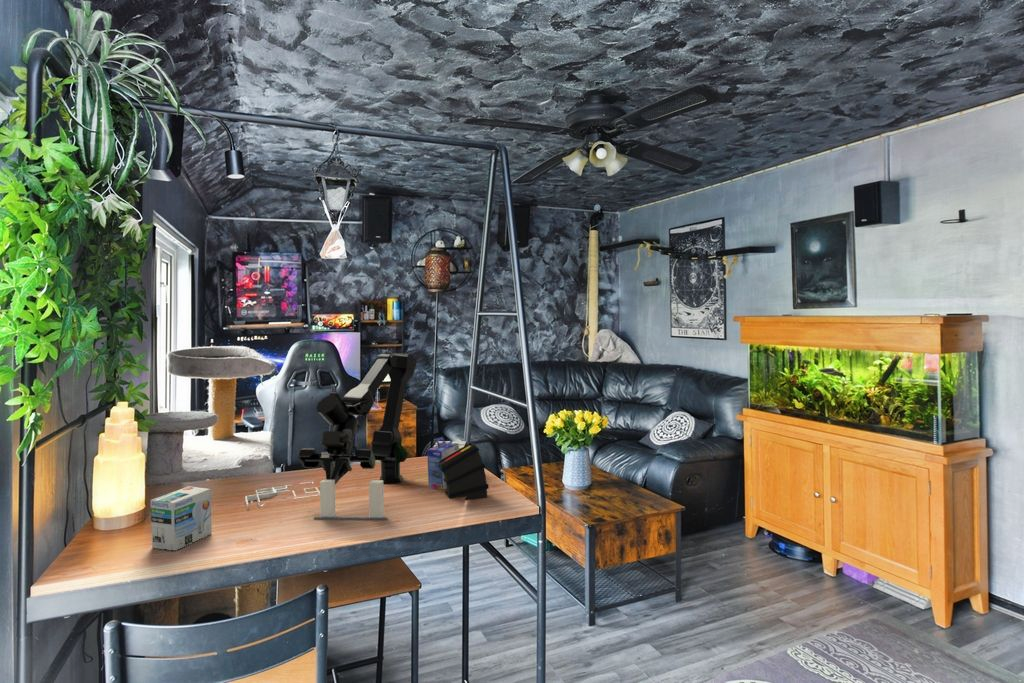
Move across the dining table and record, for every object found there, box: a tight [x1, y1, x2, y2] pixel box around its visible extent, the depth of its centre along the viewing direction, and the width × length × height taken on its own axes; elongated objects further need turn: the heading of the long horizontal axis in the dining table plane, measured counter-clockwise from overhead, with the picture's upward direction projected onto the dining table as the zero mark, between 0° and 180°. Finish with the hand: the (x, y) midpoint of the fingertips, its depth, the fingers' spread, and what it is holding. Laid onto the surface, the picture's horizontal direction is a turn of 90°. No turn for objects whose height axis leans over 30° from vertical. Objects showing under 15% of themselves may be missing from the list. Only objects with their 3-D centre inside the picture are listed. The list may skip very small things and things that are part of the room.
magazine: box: [438, 442, 490, 501], centre depth 158 cm, size 4×13×15 cm, turn 112°
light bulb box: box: [150, 485, 213, 552], centre depth 129 cm, size 11×7×11 cm, turn 164°
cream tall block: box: [319, 479, 337, 517], centre depth 141 cm, size 2×3×9 cm, turn 88°
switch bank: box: [313, 516, 388, 521], centre depth 145 cm, size 12×18×2 cm, turn 88°
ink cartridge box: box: [426, 436, 459, 490], centre depth 167 cm, size 10×6×14 cm, turn 155°
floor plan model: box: [244, 481, 320, 510], centre depth 156 cm, size 19×25×2 cm
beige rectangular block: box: [368, 479, 385, 518], centre depth 140 cm, size 2×3×9 cm, turn 88°
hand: (329, 488), depth 142 cm, fingers closed
